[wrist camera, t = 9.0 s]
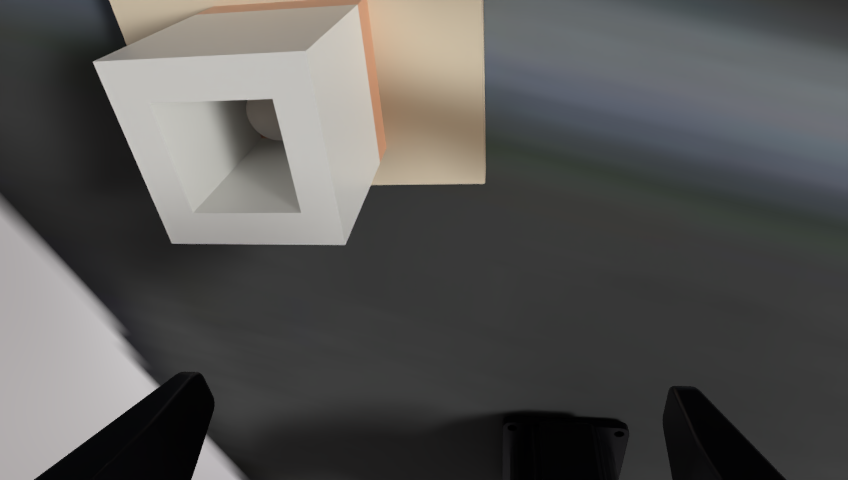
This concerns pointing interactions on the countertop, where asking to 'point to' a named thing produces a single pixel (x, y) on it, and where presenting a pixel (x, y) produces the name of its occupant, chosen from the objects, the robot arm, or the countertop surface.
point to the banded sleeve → (232, 131)
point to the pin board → (389, 82)
